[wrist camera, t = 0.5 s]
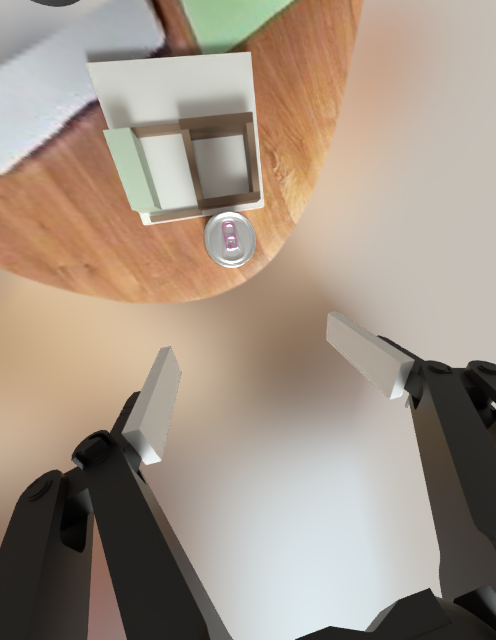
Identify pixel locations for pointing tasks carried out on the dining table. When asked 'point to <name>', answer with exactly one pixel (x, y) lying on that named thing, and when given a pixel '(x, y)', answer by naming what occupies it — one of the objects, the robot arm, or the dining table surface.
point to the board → (164, 130)
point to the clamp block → (133, 169)
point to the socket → (215, 129)
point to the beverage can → (229, 239)
